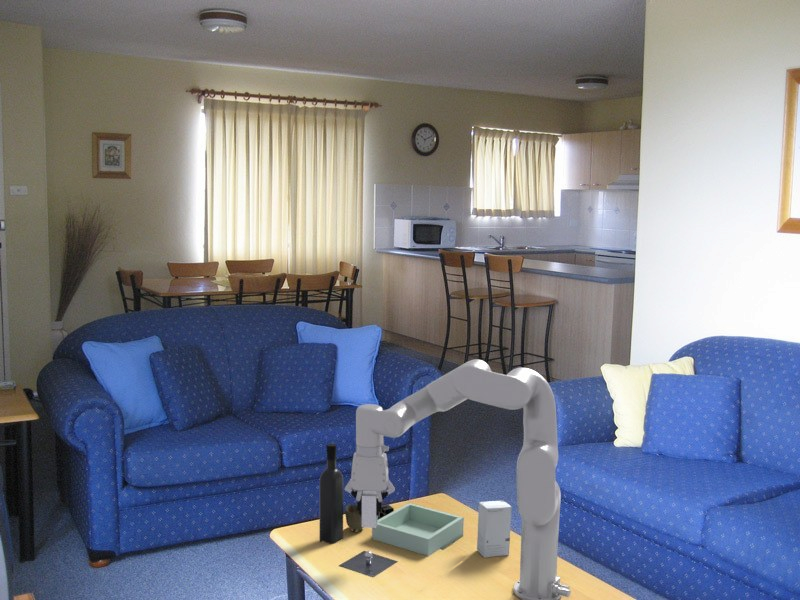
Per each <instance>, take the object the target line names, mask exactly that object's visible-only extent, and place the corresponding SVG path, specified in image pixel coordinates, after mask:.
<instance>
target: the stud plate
mask: <svg viewBox="0 0 800 600" xmlns="http://www.w3.org/2000/svg"><path fill="white" fill-rule="evenodd" d="M398 562H399V561H397V560H395V559H391V558H388V557H385V556H382V555H379V554H376V553H373V552H372V551H371V550H367V551H366V550H362V551H361V552H360V553H359V552H358V554H356V555H354V556H352V557H351V558H349V559H347V560H346V561H344V562H342V563H341V564H339V565H338V567H341V568H342V569H347V570H350V571H353V572H355V573H359V574H362V575H364V576H368V577H370V578H375V577H376V576H378V575H380V574H382V573H383V572H384V571H386V570H388V569H389V568H391V567H392V566H394V565H396V564H397V563H398Z"/></svg>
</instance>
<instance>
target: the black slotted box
mask: <svg viewBox="0 0 800 600" xmlns="http://www.w3.org/2000/svg"><path fill="white" fill-rule="evenodd" d="M393 511H395V510H394V507H393V506H391V505H390V504H382V512H380V513H379V516H378V520H379V519H380V518H382V517H384V516H386V515H388V514H390V513H392V512H393Z"/></svg>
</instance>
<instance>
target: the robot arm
mask: <svg viewBox="0 0 800 600" xmlns="http://www.w3.org/2000/svg"><path fill="white" fill-rule="evenodd" d="M467 400H470V401H474V402H477V403H481V404H485V405H489V406H493V407H497V408H501V409H506V410H516V411H517V410H520V409H523V416H522V417H523V418H522V421H523V423H522V424H523V443H522V444H523V445H522V447H521V450H520V451H519V453H518V457H517V461H516V500H517V501H516V505H517V510H518V513H519V516H520V518H521V533H520V534H521V535H520V561H519V565H520V566H519V579H518V580H516V582H514V585H513V593H514V594H515V595H516V596H517V597H518V598H520V599H522V600H560V599H561V598H562V597H565V598H570V596H571V592H572V591H571V590H570V585H568V584H567V585H566V584H562V582H561V577H560V576H558V549H559V547H558V546H559V533H560V532H559V531H560V530H559V529H560V512H561V501H562V499H561V498H562V494H561V487H560V485H559V484H558V482H557V481H556V469H557V468H556V467H557V465H558V462H559V447H558V425H557V424H558V422H557V421H558V420H557V403H556V399H555V396H554V392H553V390H552V387H551V385H550V384H549V382H548V381H547V380H546V379H545V378H544V376H542V375H541V374H540V373H538V372H537V371H536V370H533V369H531V368H528V367H516V368H513V369H512V370H511V371H509V372H508V373H506V374H503V373H498V372H494V371H492V369H491V367H490V365H489V364H488V363H487V362H486V361H484V360H482V359H471V360H469V361H466V362H465V363H463V364H461V365H459V366H458V367H456V368H454V369H453V370H451V371H449V372H447V373H445V374H444V375H442V376H439V378H437V379H435V380H433V381H431V382H430V383H428V384H427V385H426V386H424V387H423V388H420V389H419V390H417V391H415V392H414V393H412V394H410V395H409V396H406V397H405V398H403V399H401V400H400V401H398V402H396V403H395V404H393V405H392V406H391V407H390V408H388V409H383V407H382V406H381V405H377V404H373V403H369V404H368V403H367V404H366V403H365V404H362V405H359V406H358V407H357V408H356V411H355V452H354V453H353V456H352V463H351V473H350V475H351V476H350V477H351V478H350V479H349V480H348V482H347V483H346V485H345V486H344V490H345V492H347V493H349V494H350V495H351V497H352V496H353V498H354V499H355V500H356V502H357V503H356V506H357V511H360V515H362V494H363V491H376V492H377V497H378V498H377V502H376V515H377V516H379V513H380V512H382V505H383V501H384V499H386V498H387V497H388V496H389V495H391V494H392V493H394V492H395V490H396V488H395V486H394V484H393V483H392V482H391V480H390V479H389V478H390V477H389V463H388V456H387V453H385V452H389V451H390V450H389V449H390V447H389V446H388V445H385V442H384V437H387V438H393V439H394V438H399V437H401V436H403V434H404V433H406V432H407V431H408V430H409V429H410V428H411V427H412V426H414V425H415V424H417V423H419V422H420V421H422V420H423V419H426V418H427V417H430V416H431V415H433V414H435V413H438V412H446V411H449V410H451V409H452V408H454V407H455V406H458V405H459V404H460V405H461V403H463V402H464V401H467Z"/></svg>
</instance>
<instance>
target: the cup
mask: <svg viewBox="0 0 800 600" xmlns="http://www.w3.org/2000/svg"><path fill="white" fill-rule="evenodd" d="M344 513H345V521H346V525H347V527H349V528H350V531H351V532H353V533H355V532H356V533H359V532H362V531H363V530H364V528H365V527H362V515H360V511H357V503H353V504H351V503H349V504H348V505H346V506H345V508H344Z"/></svg>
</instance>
